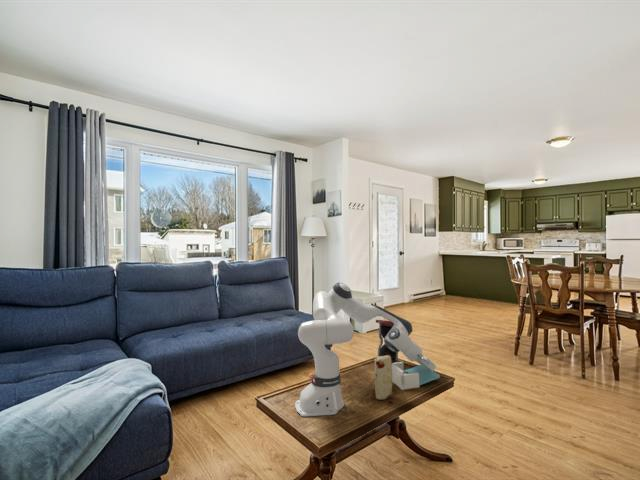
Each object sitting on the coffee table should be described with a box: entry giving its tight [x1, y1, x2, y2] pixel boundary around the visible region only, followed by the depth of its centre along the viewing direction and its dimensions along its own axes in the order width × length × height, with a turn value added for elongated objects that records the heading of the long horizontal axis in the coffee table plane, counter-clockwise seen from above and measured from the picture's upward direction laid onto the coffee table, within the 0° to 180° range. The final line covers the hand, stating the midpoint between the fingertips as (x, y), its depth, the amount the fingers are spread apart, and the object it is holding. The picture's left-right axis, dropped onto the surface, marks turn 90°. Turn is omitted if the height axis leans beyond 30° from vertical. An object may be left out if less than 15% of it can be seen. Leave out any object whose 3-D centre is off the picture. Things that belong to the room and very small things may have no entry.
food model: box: [373, 355, 393, 400], centre depth 157 cm, size 10×7×20 cm
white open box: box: [392, 361, 420, 391], centre depth 174 cm, size 10×17×9 cm, turn 15°
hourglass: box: [373, 319, 399, 364], centre depth 196 cm, size 16×16×25 cm
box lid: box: [404, 364, 441, 386], centre depth 177 cm, size 2×17×12 cm
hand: (430, 368), depth 178 cm, fingers closed
